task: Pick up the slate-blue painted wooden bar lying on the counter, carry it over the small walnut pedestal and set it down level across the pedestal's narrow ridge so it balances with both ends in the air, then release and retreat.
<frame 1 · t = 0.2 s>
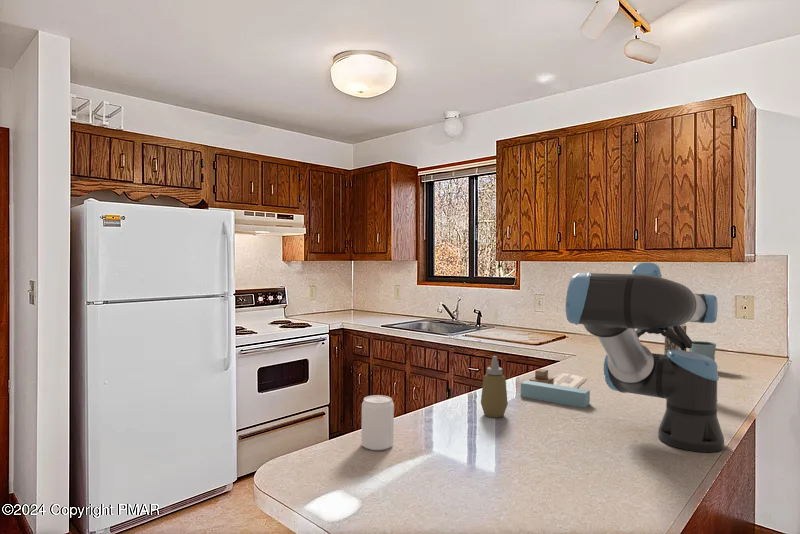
hand: (657, 359, 168), 16 cm above the countertop, tool tilted 35°, fingers open, 13 cm apart
fulcrum: (541, 389, 190), on the countertop
grey green cup: (701, 370, 226), on the countertop
newspaper: (564, 385, 200), on the countertop
bark covered log: (674, 393, 187), on the countertop
squeeze bottle: (493, 415, 159), on the countertop
bar: (554, 401, 176), on the countertop
beverage can: (377, 446, 132), on the countertop
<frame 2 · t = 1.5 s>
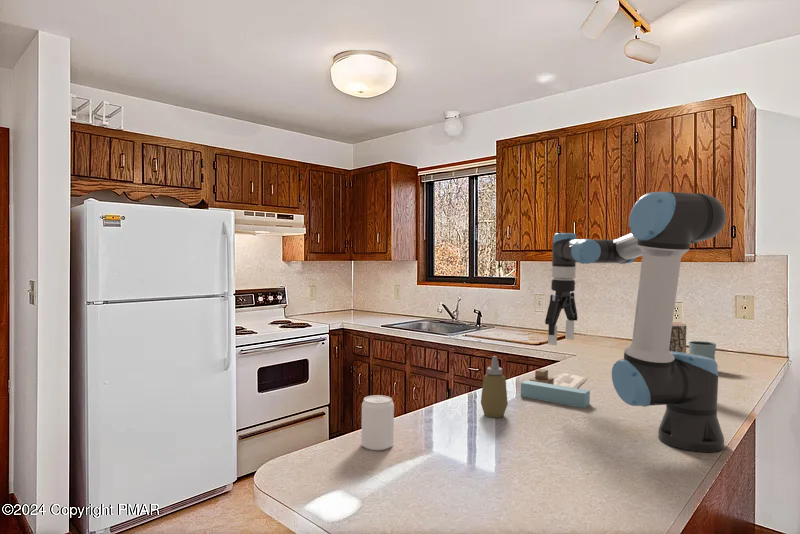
hand: (561, 342, 176), 20 cm above the countertop, tool pointing down, fingers open, 13 cm apart
nothing on the countertop moved.
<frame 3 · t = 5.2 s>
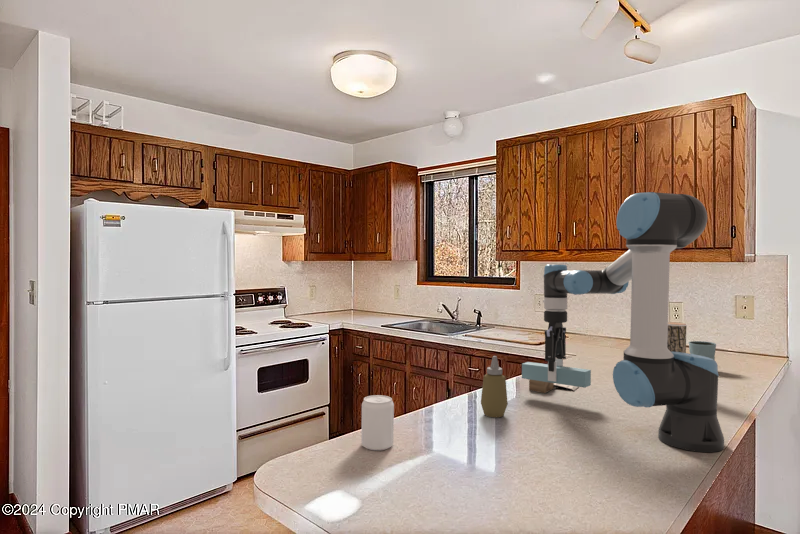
hand: (555, 379, 175), 7 cm above the countertop, tool pointing down, fingers closed on bar, 5 cm apart
bar: (555, 381, 175), point 6 cm above the countertop, touching gripper
everything else where it was.
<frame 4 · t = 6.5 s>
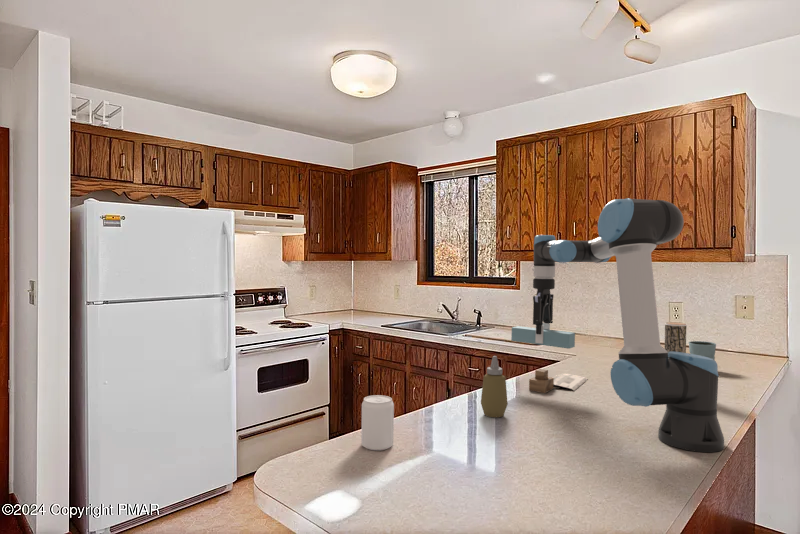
hand: (542, 341, 189), 18 cm above the countertop, tool pointing down, fingers closed on bar, 5 cm apart
bar: (542, 343, 189), point 17 cm above the countertop, touching gripper
everything else where it was.
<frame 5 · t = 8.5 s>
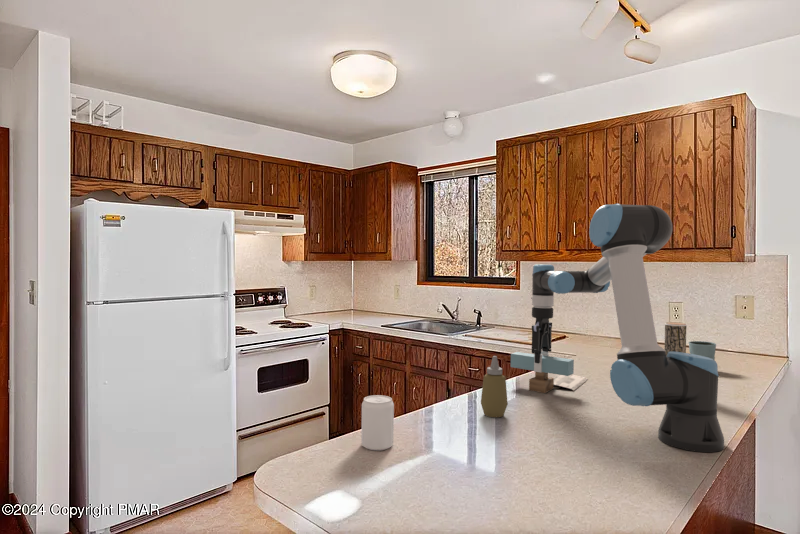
hand: (541, 370, 190), 7 cm above the countertop, tool pointing down, fingers closed on bar, 5 cm apart
bar: (541, 370, 190), point 7 cm above the countertop, touching fulcrum, gripper
everything else where it was.
when the fingers open (7 cm above the countertop, at t = 8.8 s): bar stays where it is, resting on fulcrum.
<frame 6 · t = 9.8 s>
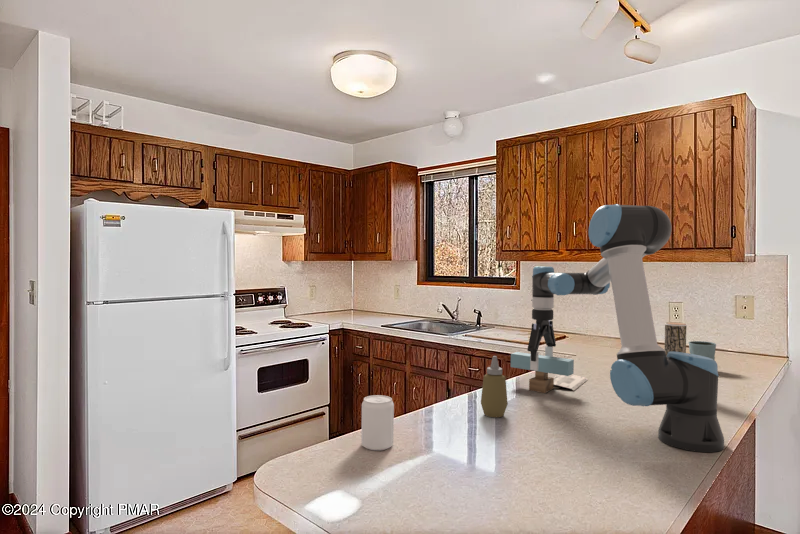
hand: (541, 367, 190), 8 cm above the countertop, tool pointing down, fingers open, 13 cm apart
bar: (541, 370, 190), point 7 cm above the countertop, touching fulcrum
everything else where it was.
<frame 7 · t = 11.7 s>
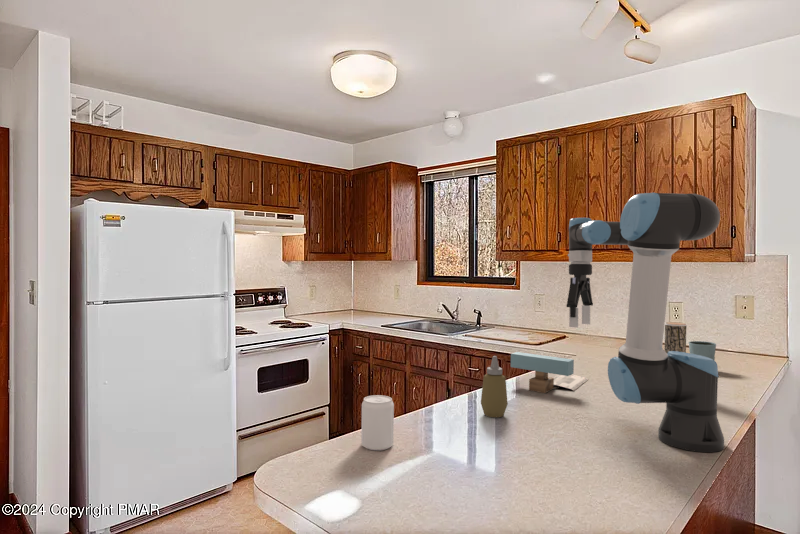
hand: (580, 325, 178), 25 cm above the countertop, tool pointing down, fingers open, 13 cm apart
nothing on the countertop moved.
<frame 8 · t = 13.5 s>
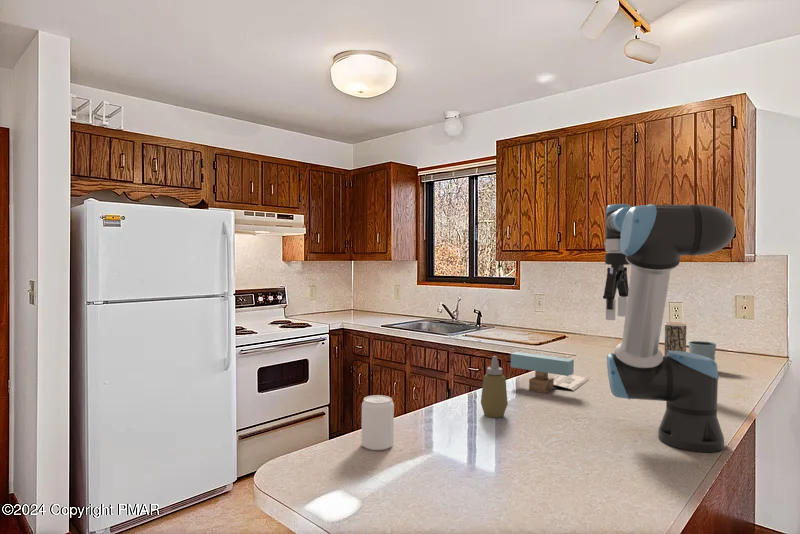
hand: (616, 318, 169), 29 cm above the countertop, tool pointing down, fingers open, 13 cm apart
nothing on the countertop moved.
at the end: bar 0.2 cm off-centre on the fulcrum, point 7.0 cm above the fulcrum's base; bar touching fulcrum; bar tilted 0° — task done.
